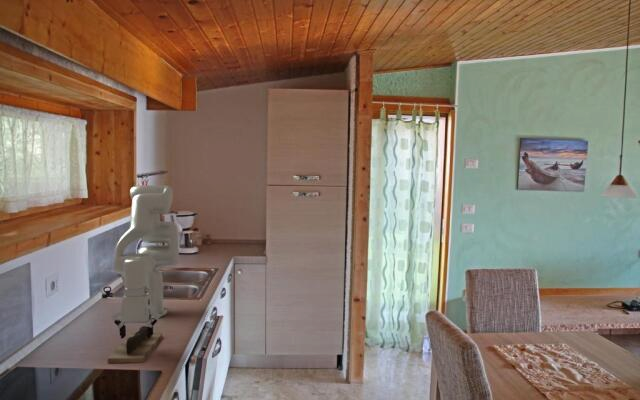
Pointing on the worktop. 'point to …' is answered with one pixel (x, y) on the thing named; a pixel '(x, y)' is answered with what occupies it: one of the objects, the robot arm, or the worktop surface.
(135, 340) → the hand tool
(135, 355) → the board
